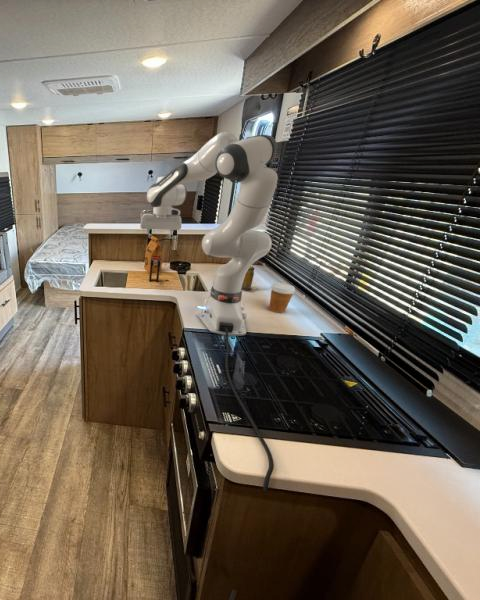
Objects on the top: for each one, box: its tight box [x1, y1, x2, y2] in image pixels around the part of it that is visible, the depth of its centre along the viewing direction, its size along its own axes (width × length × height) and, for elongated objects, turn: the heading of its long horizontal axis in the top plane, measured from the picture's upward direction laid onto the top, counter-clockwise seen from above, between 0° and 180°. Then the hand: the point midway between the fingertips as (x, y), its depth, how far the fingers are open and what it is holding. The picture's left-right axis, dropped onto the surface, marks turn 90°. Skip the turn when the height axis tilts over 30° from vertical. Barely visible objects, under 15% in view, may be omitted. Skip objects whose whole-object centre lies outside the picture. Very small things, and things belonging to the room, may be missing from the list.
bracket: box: [148, 259, 161, 283], centre depth 175 cm, size 11×9×14 cm
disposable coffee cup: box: [268, 282, 296, 314], centre depth 141 cm, size 10×10×12 cm
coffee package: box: [144, 235, 163, 274], centre depth 191 cm, size 10×12×22 cm
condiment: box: [241, 266, 257, 292], centre depth 167 cm, size 7×8×12 cm
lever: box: [152, 257, 163, 266], centre depth 168 cm, size 13×5×2 cm, turn 170°
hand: (159, 238), depth 158 cm, fingers open, 8 cm apart
